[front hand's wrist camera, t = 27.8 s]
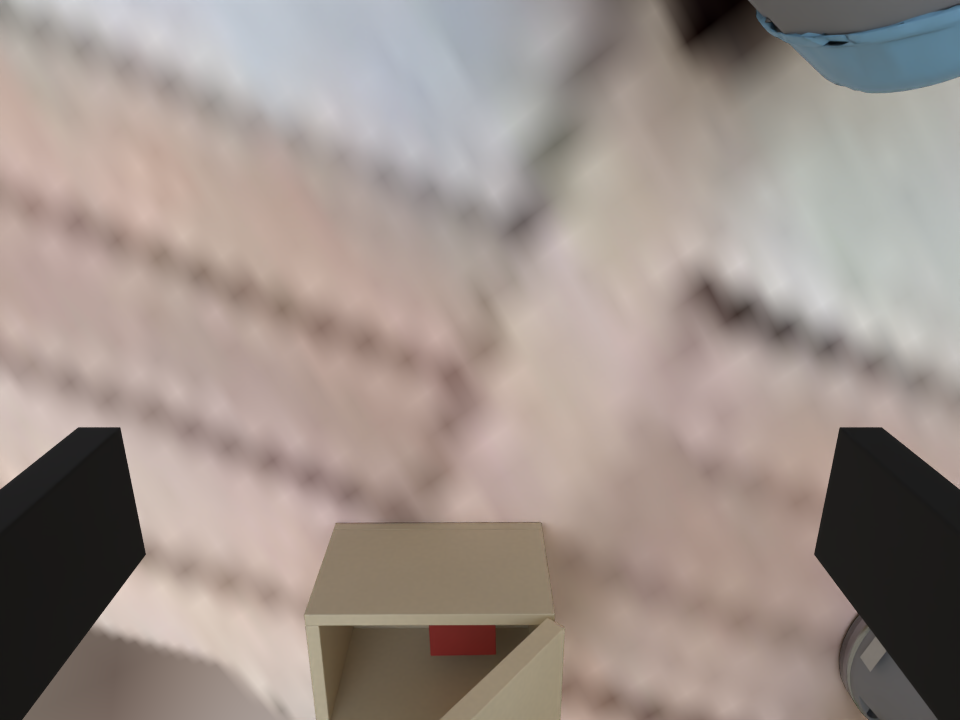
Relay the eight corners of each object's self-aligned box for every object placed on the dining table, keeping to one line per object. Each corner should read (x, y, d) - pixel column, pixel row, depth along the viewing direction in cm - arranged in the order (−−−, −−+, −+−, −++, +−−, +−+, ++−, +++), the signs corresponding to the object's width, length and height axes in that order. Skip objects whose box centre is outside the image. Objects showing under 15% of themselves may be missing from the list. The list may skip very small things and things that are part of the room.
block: (430, 656, 48) (496, 655, 48) (427, 602, 46) (495, 601, 46) (434, 611, 52) (494, 609, 52) (431, 560, 51) (493, 559, 51)
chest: (345, 629, 54) (317, 735, 45) (335, 523, 50) (303, 614, 41) (538, 628, 54) (549, 735, 45) (541, 522, 50) (554, 614, 41)
